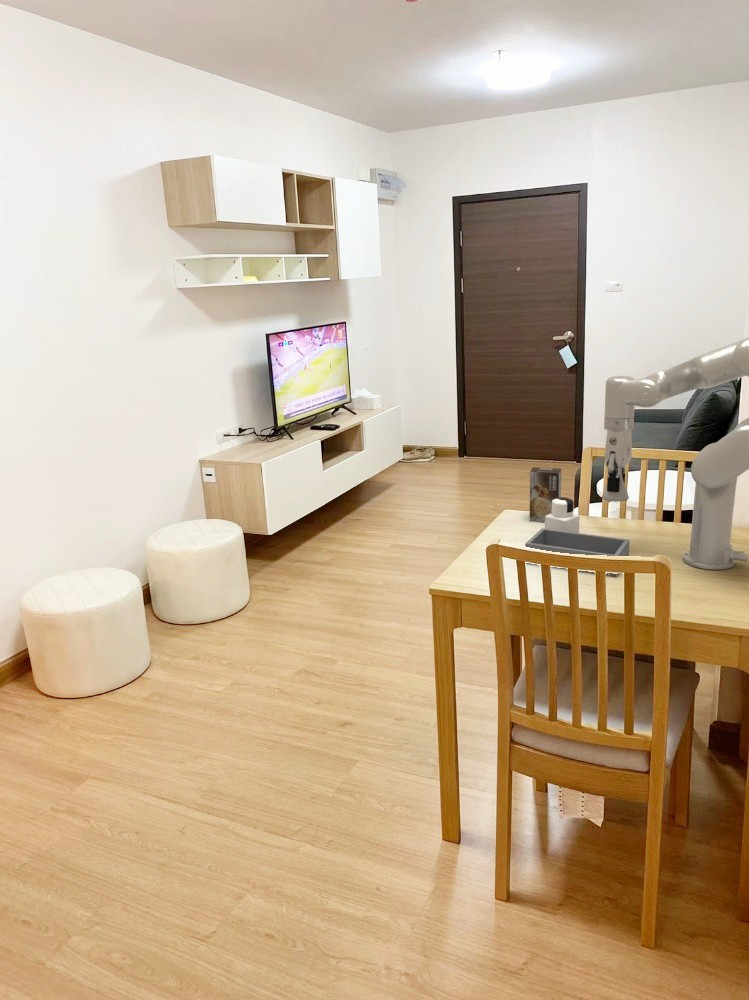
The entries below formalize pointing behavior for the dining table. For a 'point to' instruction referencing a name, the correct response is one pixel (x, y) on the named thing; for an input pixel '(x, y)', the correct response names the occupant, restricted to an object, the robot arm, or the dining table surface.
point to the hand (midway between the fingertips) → (615, 488)
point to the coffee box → (543, 491)
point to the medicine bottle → (562, 516)
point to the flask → (617, 496)
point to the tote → (579, 544)
